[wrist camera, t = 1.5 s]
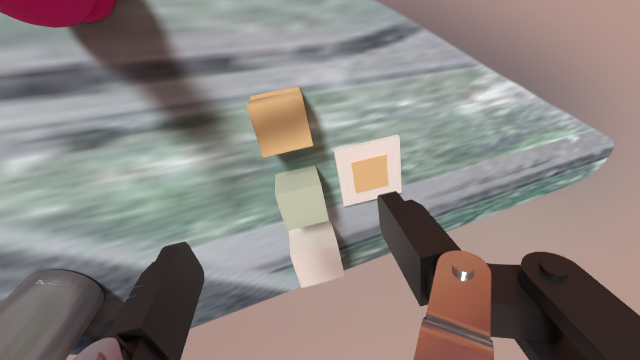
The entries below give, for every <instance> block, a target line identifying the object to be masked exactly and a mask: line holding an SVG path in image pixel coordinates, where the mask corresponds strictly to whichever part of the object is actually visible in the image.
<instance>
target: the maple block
mask: <svg viewBox="0 0 640 360" xmlns="http://www.w3.org/2000/svg"><path fill="white" fill-rule="evenodd" d="M247 109H248V112H249V115H250V119H251V122H252V125H253V128H254V131H255V134H256V137H257V140H258V143H259V146H260V149H261V152H262V155H263V158H264V157H268V156H272V155H276V154H281V153H285V152H289V151H293V150H297V149H302V148H306V147H310V146H313V143H312V138H311V134H310V129H309V124H308V120H307V115H306V111H305V106H304V101H303V97H302V93H301V91H300V89H299V87H298V86H294V87H290V88H285V89H281V90H276V91H272V92H268V93H263V94H259V95H254V96H251V98H250V100H249V103H248V105H247Z"/></svg>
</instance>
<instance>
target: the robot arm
mask: <svg viewBox="0 0 640 360" xmlns="http://www.w3.org/2000/svg"><path fill="white" fill-rule="evenodd" d="M377 199H378V210H379V220H380V227H381V231H382V234H383V237H384V239H385V241H386V243H387V245H388V246H389V248H390V250H391V252H392V254H393V256H394V258H395V260H396V262H397V263H398V265H399V267H400V269H401V271H402V273H403V275H404V277H405V279H406V280H407V282H408V284H409V286H410V288H411V290H412V291H413V293H414V295H415V297H416V299H417V301H418V303H419V305H420V306H424V305H428V309H427V313H426V317H424V318H423V321H422V324H421V329H420V333H419V337H418V342H417V346H416V351H415V356H414V360H494V351H493V350H494V349H493V342H492V341H491V338H490V337H500V338H511V339H515V341H516V342H517V344H518V345H519V346H520V348H521V349H522V350H523V352H524V353H525V355H526V356H527V357H528V359H529V360H640V316H639V315H638V314H637V313H636V312H634V311H633V310H632V309H631V308H629V307H628V306H627V305H626V304H625V303H623V302H622V301H621V300H620V299H618V298H617V297H616V296H615V295H614V294H612V293H611V292H610V291H609V290H608V289H606V288H605V287H604V286H603V285H601V284H600V283H599V282H598V281H597V280H595V279H594V278H593V277H592V276H591V275H589V274H588V273H587V272H585V271H584V270H583V269H582V268H581V267H580V266H578V265H577V264H576V263H574V262H572V261H571V260H569V259H567V258H565V257H562V256H560V255H556V254H553V253H548V252H533V253H529V254H527V255H526V256H524V258H523V259H522V262H521V265H502V264H501V265H500V264H488V263H485V261H483V260H482V259H481V258H479V257H478V256H476V255H474V254H472V253H469V252H465V251H461V249H460V248H459V247H458V246H457V245H456V244H455V243H454V241H453V240H452V239H451V238H450V237H449V235H448V234H447V233H446V232H445V231H444V230H443V228H442V227H441V226H440V225H439V224H438V223H436V220H435V219H434V218H433V217H432V216H430V213H429V212H428V211H427V210H426V209H425V208H424V206H423V205H421V204H419V203H417V202H415V201H413V200H408V201H404V200H403V199H402V197H401V196H400V195H399V194H398V192H397V191H393V192H389V193H385V194H381V195H378V197H377ZM203 283H204V271H203V268H202V266H201V264H200V263H199V261H198V260H197V258H196V256H195V255H194V253H193V251H192V250H191V248H190V246H189V245H188V244H187V243H186V242H181V243H177V244H173V245H168V246H165V247H163V248H162V250H161V252H160V254H159V255H158V257H157V259H156V261H155V262H153V263H152V264H151V265H150V266H149V267H148V268H147V269H146V270H145V271H144V272H143V273H142V274H141V276H140V277H139V279H138V281H137V283H136V284H135V288H133V290H132V291H131V293H130V295H129V299H127V300H126V302H125V303H124V305H123V307H122V309H121V310H120V312H119V314H118V316H117V317H116V319H115V321H114V323H113V324H112V326H111V328H110V329H109V331H108V333H107V335H106V336H105V338H104V339H101V340H99V341H96V342H95V343H93V344H91V345H90V346H88V347H87V348H85V349H84V350H83V351H82V352H81V353H79V354H78V355H77V356H76V357H75V358H74V360H180V359H181V355H182V352H183V349H184V346H185V343H186V339H187V336H188V332H189V329H190V326H191V323H192V319H193V316H194V313H195V310H196V306H197V303H198V300H199V296H200V293H201V290H202V286H203ZM103 302H104V293H103V291H102V289H101V288H100V287H99V286H98V284H97V283H95V282H94V281H93V280H91V279H89V278H87V277H86V276H83V275H81V274H78V273H75V272H71V271H65V270H45V271H40V272H37V273H34V274H33V275H31V276H29V277H28V278H27V279H26V280H25V281H24V282H23V283H22V284H21V285H20V286H18V287H17V288H16V289H15V290H14V291H13V292H12V293H11V294H10V295H9V296H8V297H7V298H6V299H5V300H4V301H3V302H2V303H1V304H0V360H66V359H67V357H68V356H69V354H70V353H71V351H72V350H73V348H74V346H75V345H76V343H77V342H78V340H79V339H80V337H81V336H82V334H83V333H84V331H85V330H86V328H87V327H88V325H89V324H90V322H91V321H92V319H93V318H94V316H95V315H96V313H97V311H98V310H99V308H100V307H101V305H102V304H103Z"/></svg>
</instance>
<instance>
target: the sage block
mask: <svg viewBox="0 0 640 360" xmlns="http://www.w3.org/2000/svg"><path fill="white" fill-rule="evenodd" d="M275 196H276V199H277V202H278V205H279V208H280V211H281V214H282V217H283V220H284V223H285V226H286V230H287V231H290V230H294V229H298V228H302V227H306V226H310V225H314V224H318V223H322V222H326V221H329V218H328V214H327V209H326V205H325V200H324V196H323V191H322V187H321V183H320V179H319V176H318V173H317V170H316V166H315V165H313V166H309V167H305V168H301V169H297V170H292V171H288V172H284V173H280V174H276V175H275Z"/></svg>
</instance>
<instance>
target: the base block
mask: <svg viewBox="0 0 640 360" xmlns="http://www.w3.org/2000/svg"><path fill="white" fill-rule="evenodd" d="M289 239H290V255H291V259H292V262H293V265H294V268H295V271H296V274H297V276H298V279H299V282H300V285H301V288H304V287H308V286H311V285H315V284H319V283H323V282H327V281H331V280H335V279H339V278H343V277H345V276H344V271H343V266H342V262H341V257H340V253H339V248H338V244H337V240H336V237H335V233H334V230H333V227H332V223H331V221H328V222H324V223H320V224H316V225H312V226H308V227H304V228H300V229H296V230H292V231H289Z"/></svg>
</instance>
